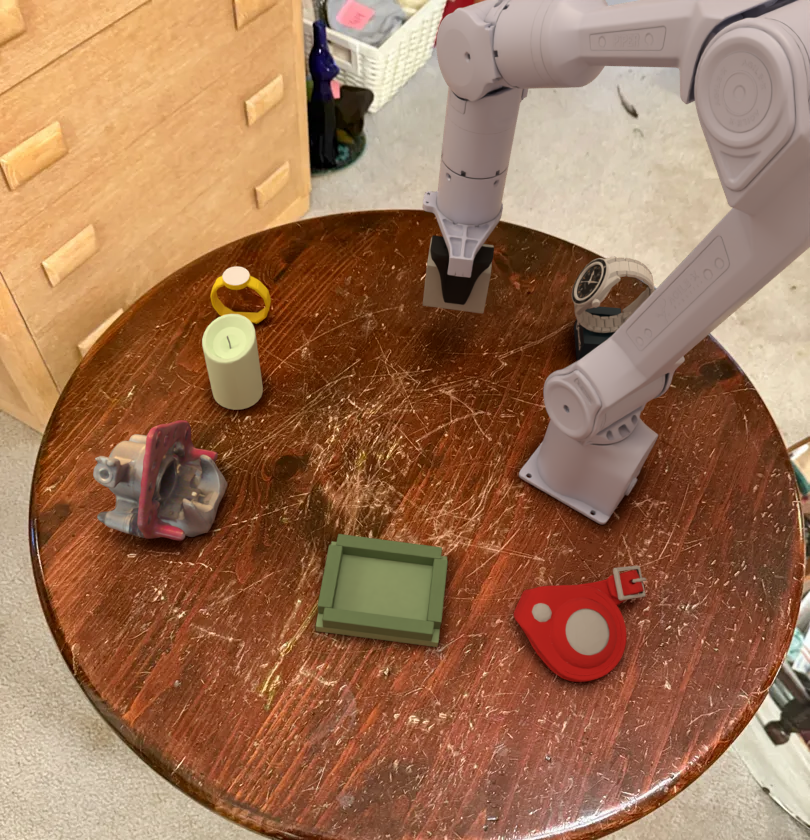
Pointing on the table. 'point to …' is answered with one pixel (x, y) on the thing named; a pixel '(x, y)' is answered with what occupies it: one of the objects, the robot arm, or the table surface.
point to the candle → (233, 361)
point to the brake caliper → (161, 484)
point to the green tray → (383, 590)
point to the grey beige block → (434, 289)
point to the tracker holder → (579, 623)
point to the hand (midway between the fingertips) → (456, 284)
